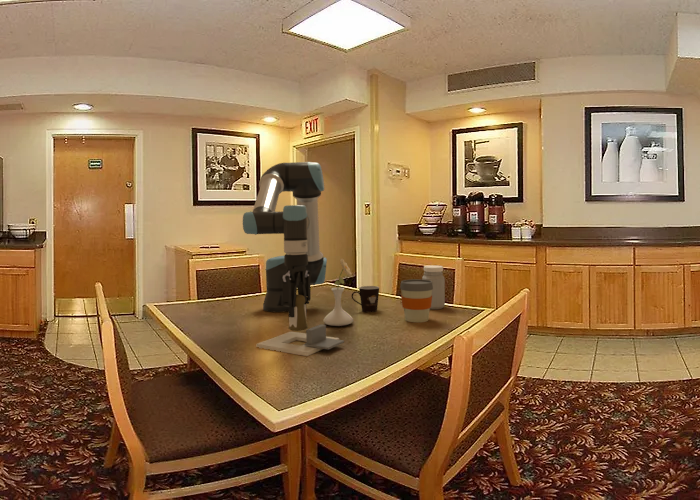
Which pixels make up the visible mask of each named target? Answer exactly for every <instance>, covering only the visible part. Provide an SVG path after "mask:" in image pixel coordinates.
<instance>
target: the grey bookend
mask: <svg viewBox="0 0 700 500" xmlns="http://www.w3.org/2000/svg"><path fill="white" fill-rule="evenodd" d="M305 332H306V340H307V342H305V343H304V344H303V345H304V346H309V347H316V348H322V350H331V349H333V348H335V347H337V346H340V345H342V344H343V343H345V340H343V339H339V340H337V339H330V338H326V336H327V324H318V325H316V326H312V327H310V328H307V329H306V330H305Z"/></svg>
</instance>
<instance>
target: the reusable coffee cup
mask: <svg viewBox="0 0 700 500" xmlns="http://www.w3.org/2000/svg"><path fill="white" fill-rule="evenodd" d="M432 289H433V285H432V281H430V280H422V278H419V279H414V278H413V279H412V278H411V279H404V280H401V282H400V290H401V295H400V299H401V306H402V308H403V312H404V313H403V314H404V319H405V320H404V321H406V322H410V323H425V322H428V321H429V318H430V310H431V309H430V308H431V303H432V295H431V294H432Z"/></svg>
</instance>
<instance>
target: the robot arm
mask: <svg viewBox="0 0 700 500" xmlns="http://www.w3.org/2000/svg"><path fill="white" fill-rule="evenodd" d="M322 170H323V169H322V166H321V164H320V163H319V162H312V161H300V162H296V161H295V162H280V163H277V164H275V165H273V166H271V167H269V168H268V169H266V171H264V172H263V174H262V175H261V177H260V180H259V183H258V186H259V191H258V193H257V197H256V200H255V203H254V206H253V209H252V211H247V212H244V213H243V214H242V230H243V232H244V233H245V234H246V235H255V236H256V235H277V234H283V253H285V254H284V255H279V256H273V257H269V258H267V260H266V261H265V278H266V279H265V283H266V285H265V287H266V293H265V297H264V300H263V304H262V309H263V311H265V312H271V313H281V312H282V313H284V312H288V328H289V327H291V326H292V324H293V325H294V327H297V307H295V303H296V295H303V296H304V297H305V304H304V310H305V316H306V317H307V305H309V304H310V301H311V297H312V296H311V295H312V294H311V286H312V285H313V286H316V285H321V284H324V283H325V281H326V272H327V263H328V262H327V261H328V259H327V257H324V253H323V252H322V251H321V248H320V247H321V246H320V228H319V227H320V226H319V204H318V203H319V198H320V197H321V196H322V192H323V191H325V182H324V175H323V171H322ZM283 192H288V193H291V192H292V197H293V198H294V199H295V200H296V204H295V205H294V204H293V205H292V204H291V205H289V204H288V205H284V206H283V208H282V211H276V209H277V206H278V200H279V196H280V194H281V193H283Z"/></svg>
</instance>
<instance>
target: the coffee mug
mask: <svg viewBox="0 0 700 500" xmlns="http://www.w3.org/2000/svg"><path fill="white" fill-rule="evenodd" d="M358 289H359V291H357V290H356V291H353V292H352V294H351V299H352V300H353V301H354V302H355V303H357V304H358V305H360V306H361V311H362V312H363V313H375V312H378V306H379V294H380V286H377V285H364V286H360V287H358ZM355 293H357V294H358V295H359V296H360V297H359V298H360V302H359V301H358V300H356V299H355V298H354V294H355Z"/></svg>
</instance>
